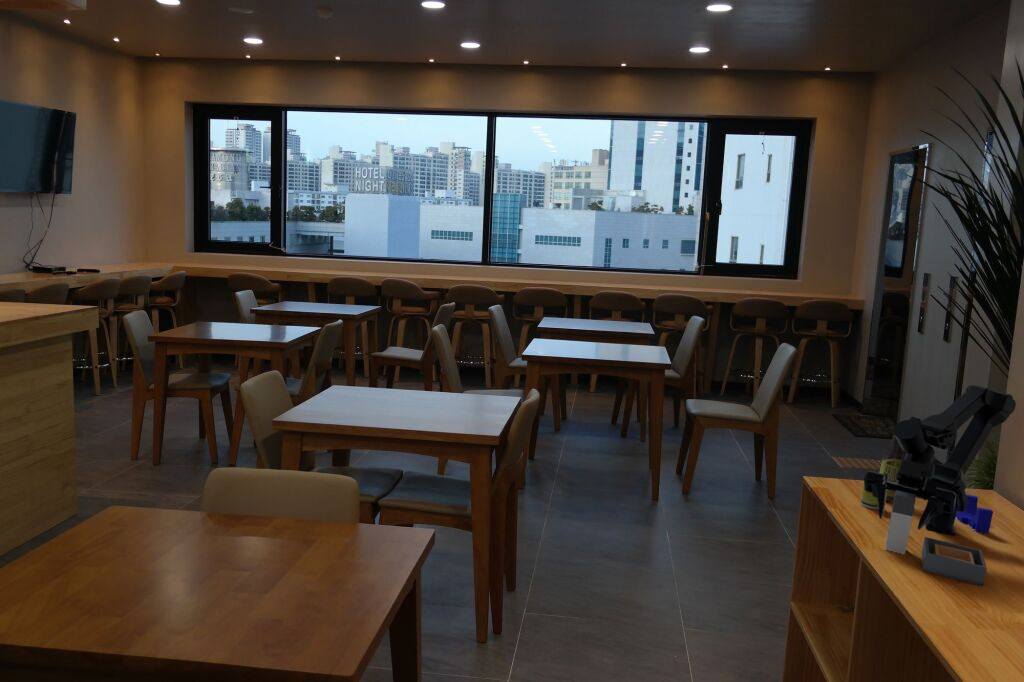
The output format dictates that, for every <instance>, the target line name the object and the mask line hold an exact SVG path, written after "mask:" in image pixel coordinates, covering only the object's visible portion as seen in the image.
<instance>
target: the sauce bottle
mask: <svg viewBox="0 0 1024 682" xmlns="http://www.w3.org/2000/svg"><path fill="white" fill-rule="evenodd" d="M892 432H893V434H892V439H891V443H890V444H889V445H888V446H887V448H885V450H884V453H883V456H882V457H883V458H882V460H881V464H880V468H879V469H880V470H879V472H878V473H882V474H885V479H886V480H887V481H890V482H894V483H897V481H898V480H896V477H897V473H898V469H899V465H900V461H901V459H905V456H906V452H904V451H903V450H902V448H901V446H900V444H899V442H898V440H897V438H896V436H895V434H894V431H893V430H892ZM894 497H895V492H894V491H890V490H887V491H886V502H889V503H893V502H894Z"/></svg>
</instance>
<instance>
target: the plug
mask: <svg viewBox="0 0 1024 682" xmlns="http://www.w3.org/2000/svg"><path fill="white" fill-rule="evenodd" d="M916 499H917V497H915V494H911V493H907V492H902V491H898V490H896V492H895V497H894V502H892V503H893V504H892V509H891V513H890V517H889V519H890V520H889V524H888V529H887V534H886V535H887V536H886V540H885V547H886V550H889V551H888V552H890V551H893V552H892V553H895V552H898V553H897V554H899V553H902V554H901V555H903V554H905V555H906V551H907V546H908V542H909V535H910V530H911V525H912V520H913V515H914V510H915V504H916ZM886 550H885V551H886Z"/></svg>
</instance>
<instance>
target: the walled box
mask: <svg viewBox="0 0 1024 682" xmlns="http://www.w3.org/2000/svg"><path fill="white" fill-rule="evenodd" d="M922 545H923V546H922V548H921V553H922V554H921V564H922V565H923V566H922V572H924V571H925V572H924V573H928V572H929V574H932V573H933V575H936V574H937V575H936V576H940V575H941V577H945V578H949V579H952V580H957V581H961V582H965V583H968V584H973V585H977V586H980V587H984V582H985V577H986V574H987V568H988V567H987V564H986V561H985V560H986V559H985V558H984V553H983V551H982V549H979V548H978V549H977V548H975V547H970V546H965V545H961V544H958V543H952V542H948V541H943V540H939V539H935V538H931V537H928V536H924V539H923V544H922Z"/></svg>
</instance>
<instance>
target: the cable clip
mask: <svg viewBox="0 0 1024 682" xmlns="http://www.w3.org/2000/svg"><path fill="white" fill-rule="evenodd" d="M966 496H967V498H968V500H969V503H968V507H967V509H966V510H965V512H961V511H957V512H956V517H957V518H956V517H955V518H956V519H957V520H958V521H959V522H960V523H962V522H964V523H963V524H967V525H968V524H969V525H968V526H969V527H970V528H971V527H972V528H971V529H972V530H973V529H975V530H973V531H974V532H975V531H976V533H979V532H981V534H985V533H988V534H990V533H989V532H990V528H991V524H992V520H993V515H994V511H993V510H992V509H991V508H985V507H978V500H979V497H978V496H977V495H971V494H966ZM988 534H987V535H988Z"/></svg>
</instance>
